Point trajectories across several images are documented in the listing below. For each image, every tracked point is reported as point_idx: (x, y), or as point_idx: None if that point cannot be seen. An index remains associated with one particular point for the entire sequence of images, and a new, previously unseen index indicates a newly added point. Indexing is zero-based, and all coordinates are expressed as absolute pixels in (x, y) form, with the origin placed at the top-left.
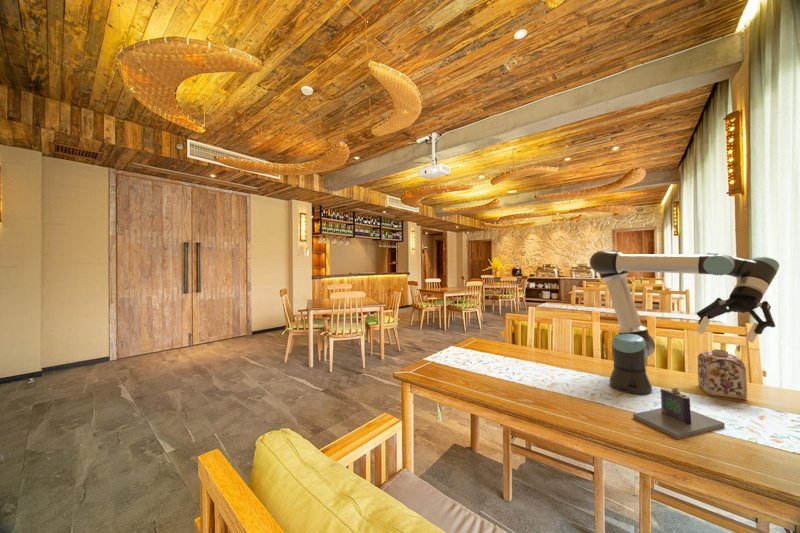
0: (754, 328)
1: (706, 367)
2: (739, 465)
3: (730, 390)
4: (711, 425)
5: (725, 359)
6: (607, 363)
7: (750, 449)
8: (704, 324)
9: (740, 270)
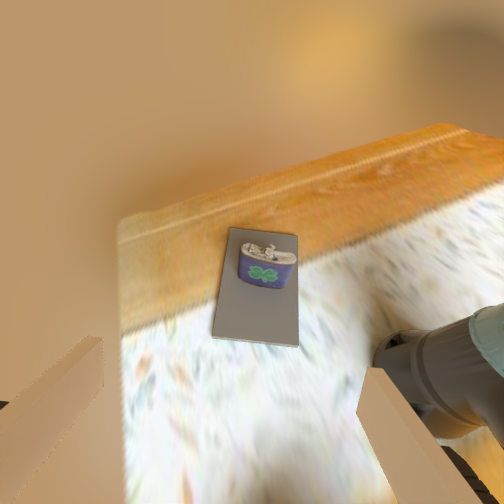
0: (5, 412)
1: None
2: (163, 231)
3: None
4: (219, 301)
5: None
6: None
7: (164, 287)
8: (403, 456)
9: None
